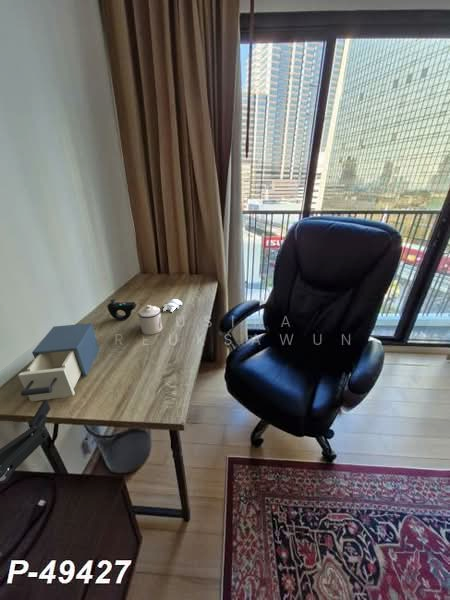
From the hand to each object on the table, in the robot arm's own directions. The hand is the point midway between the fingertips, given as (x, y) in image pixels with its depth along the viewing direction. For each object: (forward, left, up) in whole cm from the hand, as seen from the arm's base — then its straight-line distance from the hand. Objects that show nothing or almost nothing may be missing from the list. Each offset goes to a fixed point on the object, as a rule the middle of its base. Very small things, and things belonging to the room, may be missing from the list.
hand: (15, 408), depth 58 cm
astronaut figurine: (+54, +51, -11) cm, 75 cm away
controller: (+31, +51, -11) cm, 61 cm away
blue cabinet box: (+10, +27, -11) cm, 31 cm away
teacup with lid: (+40, +37, -11) cm, 55 cm away
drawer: (+6, +16, -10) cm, 19 cm away
